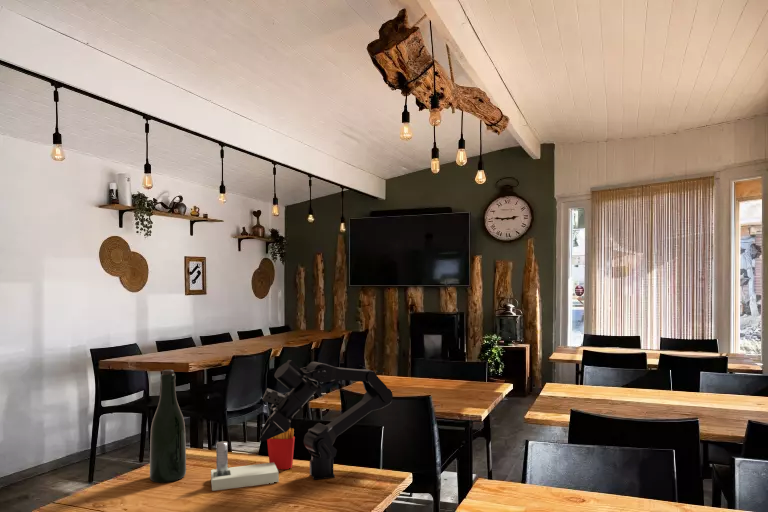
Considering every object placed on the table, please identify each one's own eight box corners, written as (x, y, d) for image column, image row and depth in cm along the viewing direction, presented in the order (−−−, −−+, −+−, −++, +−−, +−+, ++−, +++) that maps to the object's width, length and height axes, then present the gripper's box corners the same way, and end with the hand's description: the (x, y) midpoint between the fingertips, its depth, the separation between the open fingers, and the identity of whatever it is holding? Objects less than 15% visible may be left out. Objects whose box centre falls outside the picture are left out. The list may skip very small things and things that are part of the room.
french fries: (295, 465, 186) (295, 424, 186) (292, 469, 182) (292, 428, 182) (268, 465, 187) (267, 424, 187) (264, 469, 182) (264, 428, 183)
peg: (228, 481, 171) (228, 441, 172) (226, 485, 168) (226, 444, 169) (218, 482, 171) (218, 441, 172) (215, 485, 168) (215, 444, 169)
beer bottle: (190, 471, 182) (190, 367, 183) (179, 483, 171) (179, 372, 173) (157, 472, 181) (157, 367, 183) (144, 484, 171) (144, 372, 172)
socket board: (274, 472, 179) (274, 462, 180) (278, 482, 170) (278, 472, 170) (211, 479, 173) (211, 469, 174) (212, 490, 164) (212, 480, 164)
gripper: (278, 374, 181) (243, 411, 179) (278, 384, 163) (238, 426, 160) (304, 398, 182) (269, 435, 180) (306, 410, 164) (267, 452, 161)
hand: (261, 436), depth 170 cm, fingers open, 9 cm apart
